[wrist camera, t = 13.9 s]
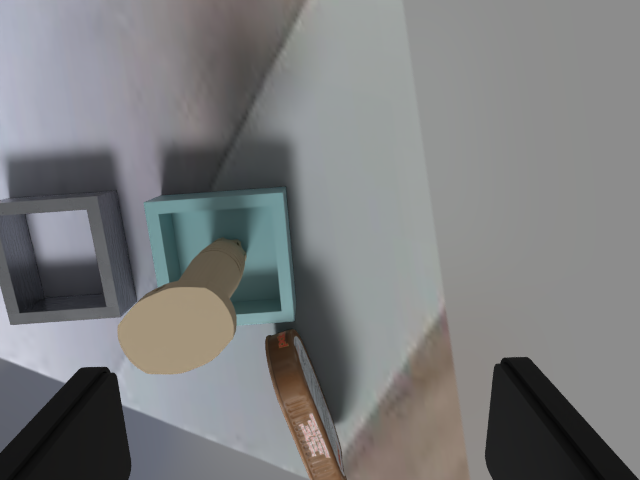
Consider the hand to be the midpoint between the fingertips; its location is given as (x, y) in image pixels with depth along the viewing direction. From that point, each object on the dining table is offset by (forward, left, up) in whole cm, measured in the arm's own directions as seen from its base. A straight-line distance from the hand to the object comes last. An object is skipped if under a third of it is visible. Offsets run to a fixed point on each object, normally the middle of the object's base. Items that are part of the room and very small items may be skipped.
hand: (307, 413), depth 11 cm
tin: (+17, -2, -29) cm, 34 cm away
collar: (+2, -22, -29) cm, 36 cm away
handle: (+3, -8, -28) cm, 29 cm away
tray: (+3, -8, -29) cm, 30 cm away
